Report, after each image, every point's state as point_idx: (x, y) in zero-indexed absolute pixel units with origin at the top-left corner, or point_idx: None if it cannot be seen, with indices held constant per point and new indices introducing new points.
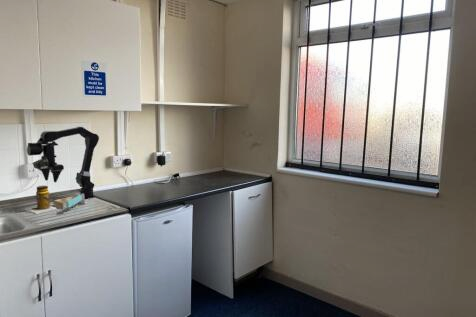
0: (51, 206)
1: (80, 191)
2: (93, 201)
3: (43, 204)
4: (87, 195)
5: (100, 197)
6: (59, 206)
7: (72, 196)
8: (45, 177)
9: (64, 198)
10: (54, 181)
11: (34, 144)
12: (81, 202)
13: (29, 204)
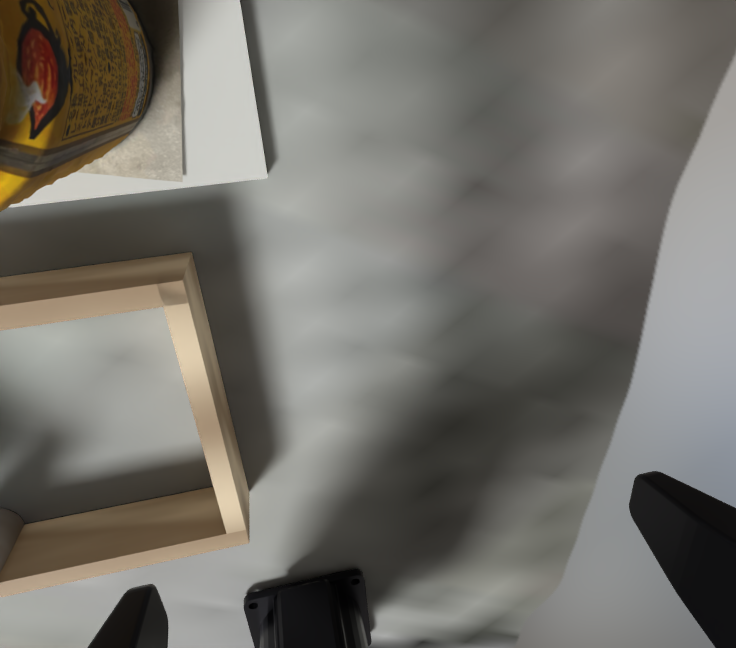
0: (93, 196)
1: (330, 645)
2: (75, 624)
3: None
4: (264, 642)
5: None
6: (5, 281)
7: (243, 532)
8: (714, 545)
9: (201, 437)
10: (110, 616)
11: None
12: None
13: (553, 37)
